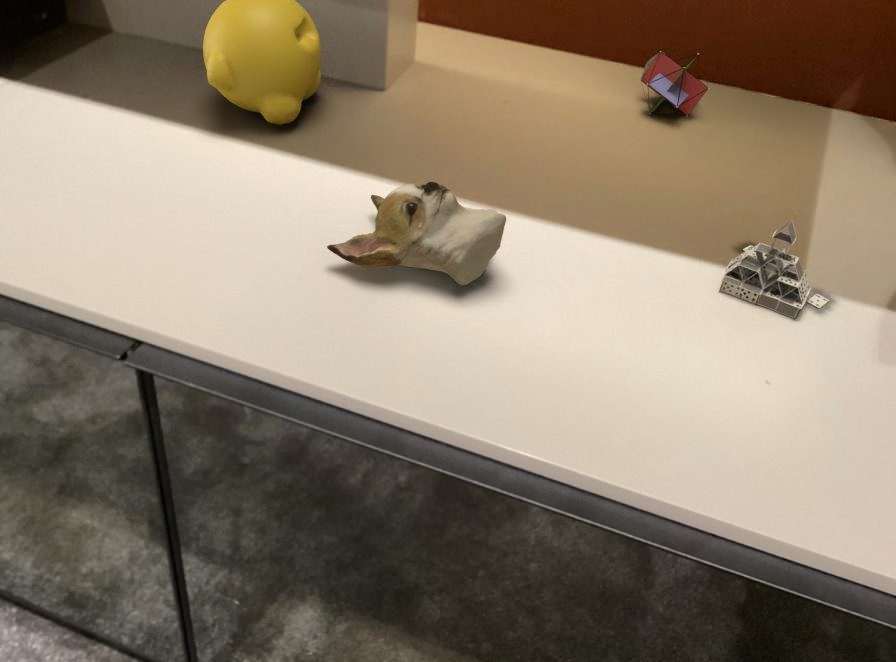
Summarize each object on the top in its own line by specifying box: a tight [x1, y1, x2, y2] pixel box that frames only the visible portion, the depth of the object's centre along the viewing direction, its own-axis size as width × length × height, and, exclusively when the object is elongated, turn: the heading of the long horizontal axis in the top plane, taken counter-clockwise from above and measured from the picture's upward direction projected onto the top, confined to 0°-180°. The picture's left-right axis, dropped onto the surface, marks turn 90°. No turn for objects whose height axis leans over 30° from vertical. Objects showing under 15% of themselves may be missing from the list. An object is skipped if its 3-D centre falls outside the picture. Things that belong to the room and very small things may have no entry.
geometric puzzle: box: [639, 50, 710, 118], centre depth 108 cm, size 7×7×8 cm
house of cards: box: [718, 219, 830, 320], centre depth 85 cm, size 9×9×8 cm
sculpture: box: [202, 0, 322, 126], centre depth 104 cm, size 15×13×13 cm
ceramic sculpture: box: [326, 181, 507, 286], centre depth 86 cm, size 11×9×15 cm
